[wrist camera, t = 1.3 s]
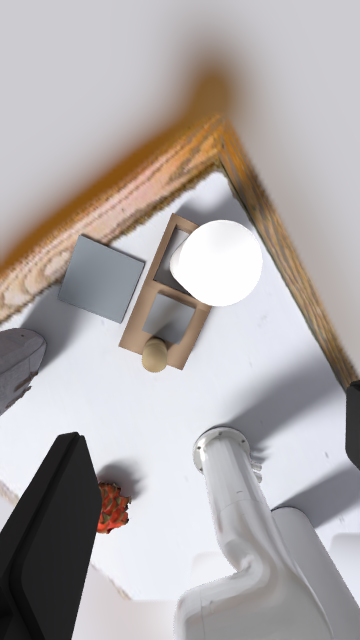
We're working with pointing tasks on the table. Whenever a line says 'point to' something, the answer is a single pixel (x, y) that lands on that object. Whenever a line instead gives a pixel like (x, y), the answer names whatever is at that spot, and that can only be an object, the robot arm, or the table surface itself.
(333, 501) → the table surface
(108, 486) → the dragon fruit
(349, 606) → the cylinder vase
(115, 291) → the mat
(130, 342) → the wooden divided tray
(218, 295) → the cylindrical container
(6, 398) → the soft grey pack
